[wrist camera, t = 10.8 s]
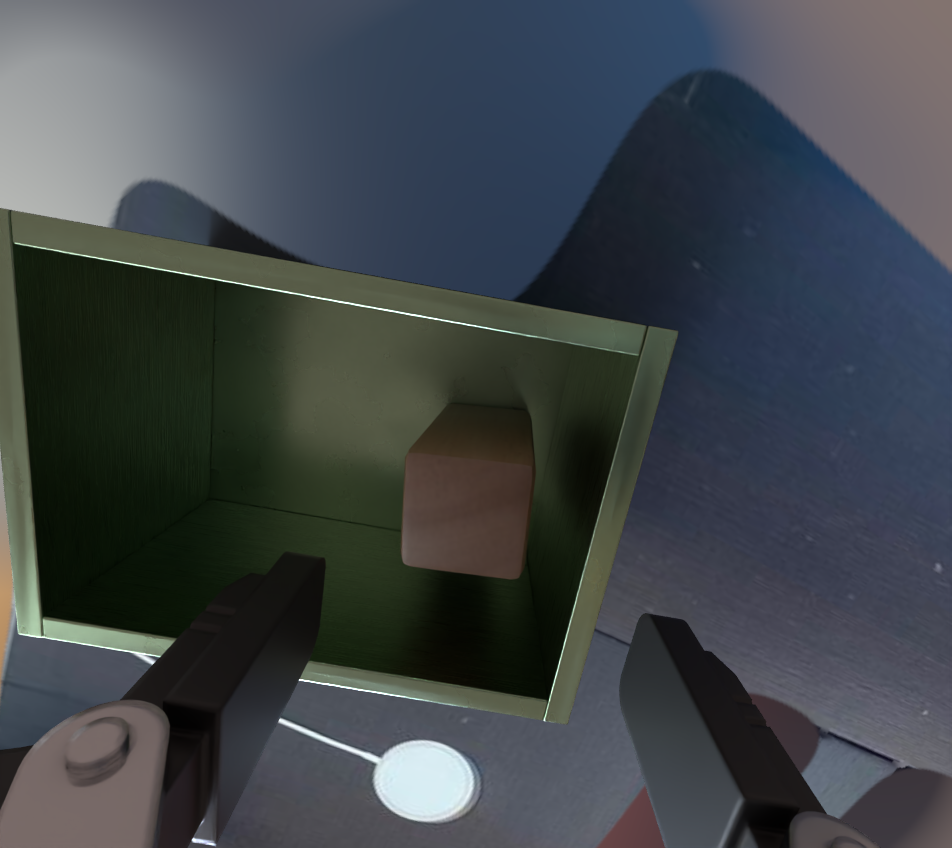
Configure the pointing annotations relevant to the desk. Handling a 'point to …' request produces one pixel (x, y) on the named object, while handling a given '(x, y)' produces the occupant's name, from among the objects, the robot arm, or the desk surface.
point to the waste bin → (302, 455)
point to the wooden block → (470, 492)
